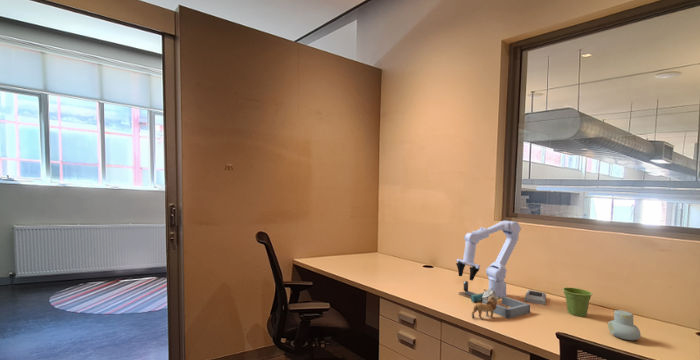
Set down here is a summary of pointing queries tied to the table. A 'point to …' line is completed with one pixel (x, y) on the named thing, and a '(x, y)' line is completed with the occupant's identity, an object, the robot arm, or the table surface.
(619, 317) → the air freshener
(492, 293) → the grey rock
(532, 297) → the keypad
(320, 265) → the table surface
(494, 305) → the lion figurine
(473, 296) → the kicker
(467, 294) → the rail
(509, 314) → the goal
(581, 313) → the plant pot
